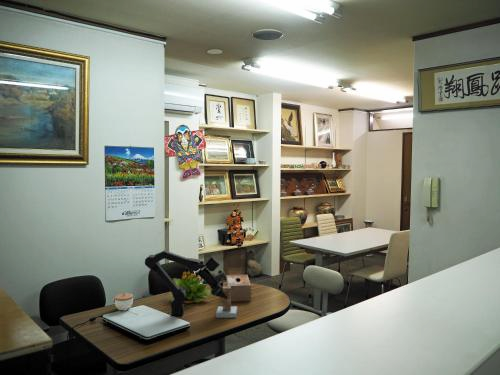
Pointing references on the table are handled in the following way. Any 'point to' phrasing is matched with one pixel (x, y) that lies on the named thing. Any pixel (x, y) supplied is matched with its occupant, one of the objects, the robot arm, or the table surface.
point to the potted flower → (192, 288)
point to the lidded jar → (123, 301)
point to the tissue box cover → (239, 287)
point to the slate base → (226, 312)
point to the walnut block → (227, 301)
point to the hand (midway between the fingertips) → (227, 295)
